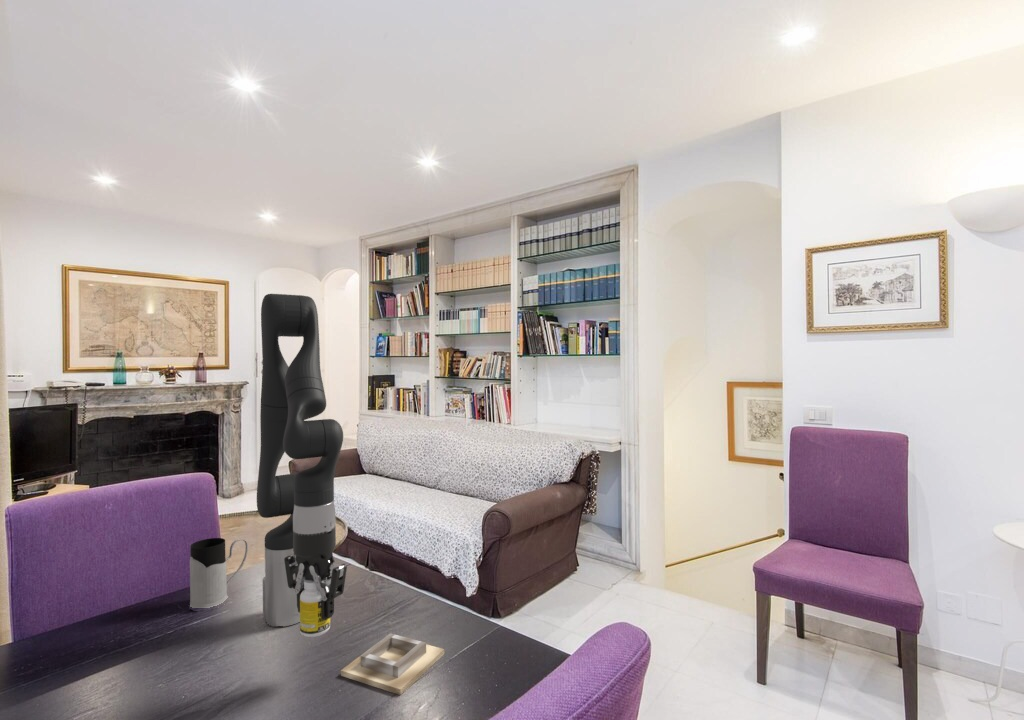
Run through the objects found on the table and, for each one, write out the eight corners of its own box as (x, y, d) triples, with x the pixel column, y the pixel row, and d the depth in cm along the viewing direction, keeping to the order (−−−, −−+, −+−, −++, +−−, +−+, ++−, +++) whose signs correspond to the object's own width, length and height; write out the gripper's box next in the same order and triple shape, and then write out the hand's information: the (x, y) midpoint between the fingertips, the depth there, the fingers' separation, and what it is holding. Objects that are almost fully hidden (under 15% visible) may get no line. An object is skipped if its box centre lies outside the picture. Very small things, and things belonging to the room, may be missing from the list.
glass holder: (181, 605, 127) (180, 544, 127) (239, 584, 138) (238, 529, 139) (198, 615, 122) (197, 551, 122) (256, 592, 133) (256, 534, 134)
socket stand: (340, 675, 97) (340, 659, 97) (388, 639, 109) (388, 625, 109) (400, 695, 91) (400, 678, 91) (444, 654, 103) (443, 639, 103)
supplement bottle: (320, 639, 94) (319, 586, 94) (294, 636, 95) (293, 583, 95) (336, 624, 99) (335, 573, 99) (311, 621, 100) (310, 571, 100)
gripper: (271, 526, 97) (272, 615, 97) (327, 537, 90) (328, 633, 91) (302, 515, 103) (303, 598, 104) (357, 524, 97) (358, 613, 97)
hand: (315, 614), depth 97 cm, fingers closed on supplement bottle, 5 cm apart
